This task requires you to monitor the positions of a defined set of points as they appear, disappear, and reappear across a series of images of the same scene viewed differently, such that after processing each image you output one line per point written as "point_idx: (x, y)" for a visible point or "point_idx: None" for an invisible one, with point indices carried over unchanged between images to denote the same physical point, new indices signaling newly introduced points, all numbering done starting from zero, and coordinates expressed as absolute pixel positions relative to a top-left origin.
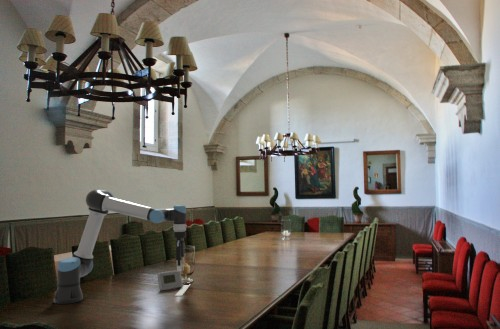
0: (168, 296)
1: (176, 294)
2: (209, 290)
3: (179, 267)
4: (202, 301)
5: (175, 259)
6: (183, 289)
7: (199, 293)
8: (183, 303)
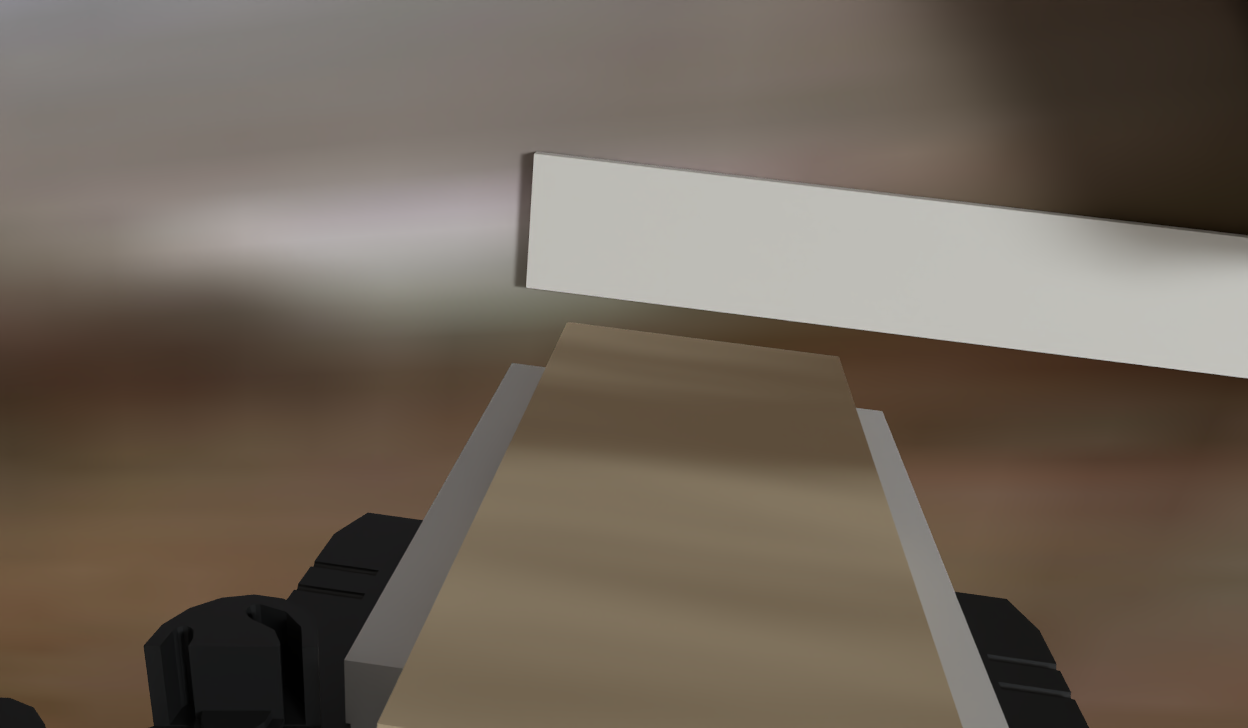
0: (531, 12)
1: (616, 177)
2: None
3: None
4: (170, 595)
5: (162, 627)
6: (1058, 292)
7: None
8: (32, 337)
